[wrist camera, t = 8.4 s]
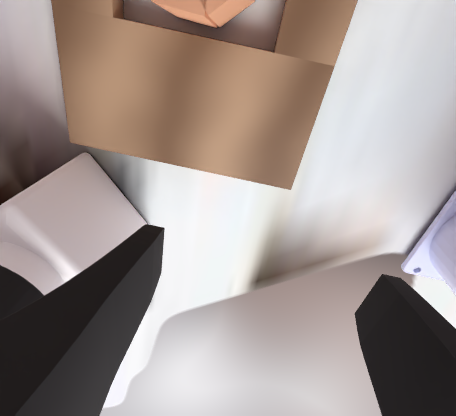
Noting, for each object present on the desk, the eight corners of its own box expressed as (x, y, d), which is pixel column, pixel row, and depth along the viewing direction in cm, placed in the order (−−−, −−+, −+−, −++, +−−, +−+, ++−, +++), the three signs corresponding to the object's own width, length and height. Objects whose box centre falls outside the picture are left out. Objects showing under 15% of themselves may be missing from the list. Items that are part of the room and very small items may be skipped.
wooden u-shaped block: (373, -66, 12) (384, -76, 11) (289, 181, 18) (290, 189, 17) (50, -139, 12) (30, -156, 10) (80, 136, 18) (70, 142, 17)
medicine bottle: (23, 190, 21) (-204, 335, 11) (88, 149, 18) (-125, 284, 8) (89, 255, 24) (-40, 418, 14) (152, 227, 21) (54, 397, 11)
